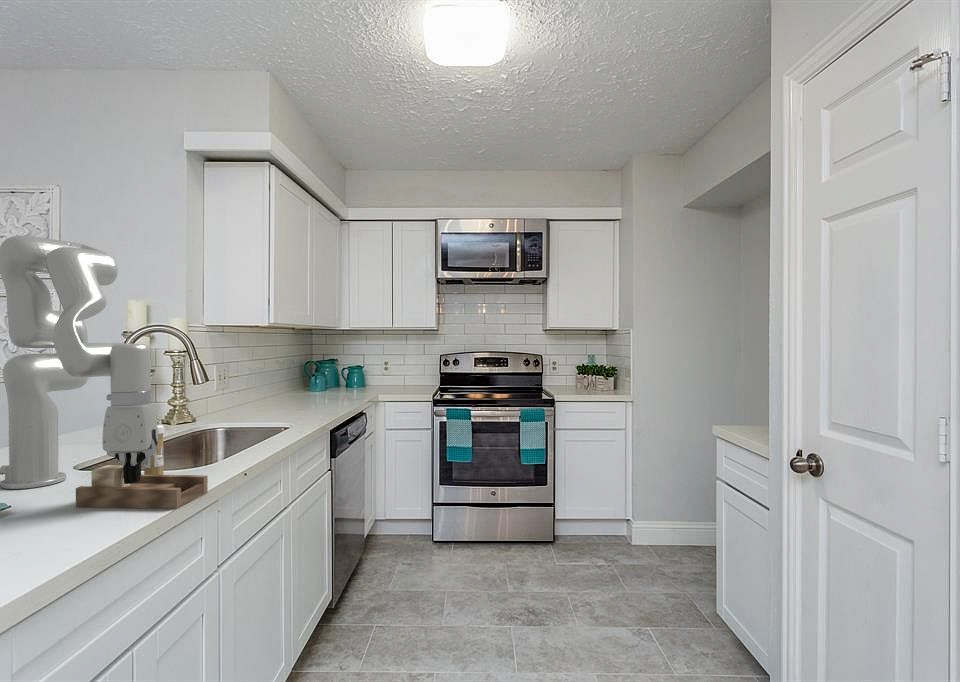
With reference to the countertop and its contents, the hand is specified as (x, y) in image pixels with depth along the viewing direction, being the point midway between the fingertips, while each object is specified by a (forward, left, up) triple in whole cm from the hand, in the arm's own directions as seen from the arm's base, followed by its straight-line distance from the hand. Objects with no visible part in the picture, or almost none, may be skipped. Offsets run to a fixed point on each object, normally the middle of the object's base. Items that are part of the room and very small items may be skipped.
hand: (132, 482), depth 124 cm
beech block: (-5, 0, -1) cm, 5 cm away
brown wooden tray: (+3, 0, -4) cm, 5 cm away
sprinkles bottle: (-6, +17, -4) cm, 19 cm away
